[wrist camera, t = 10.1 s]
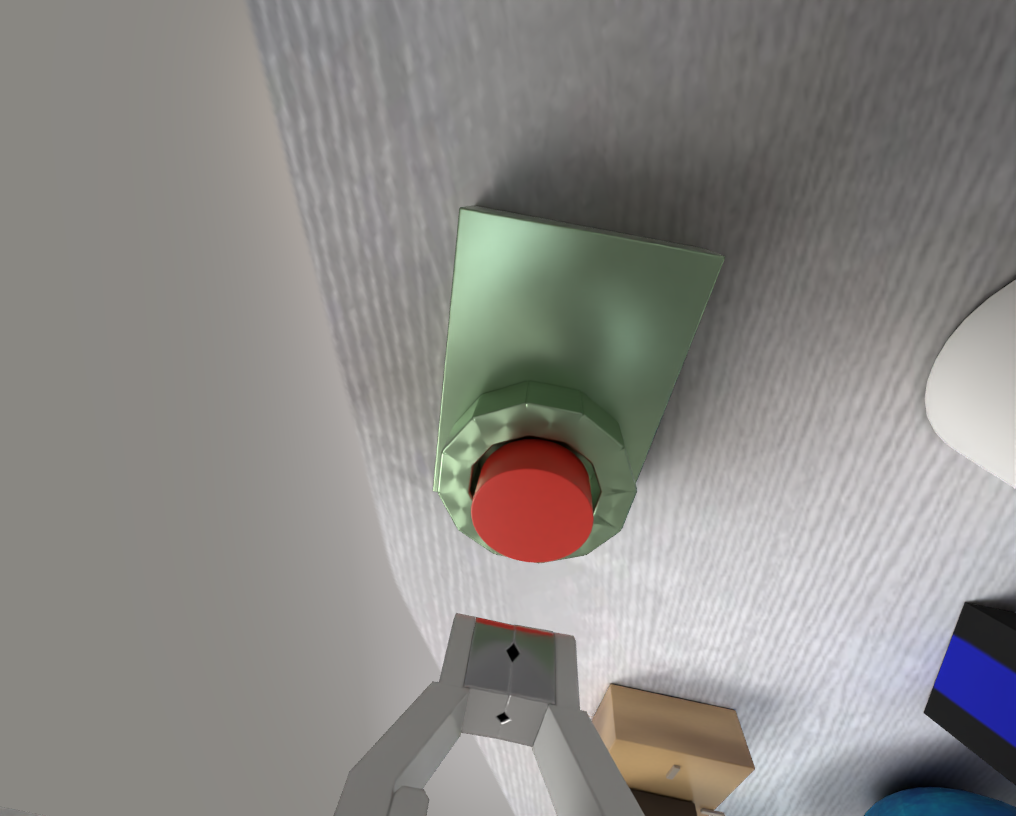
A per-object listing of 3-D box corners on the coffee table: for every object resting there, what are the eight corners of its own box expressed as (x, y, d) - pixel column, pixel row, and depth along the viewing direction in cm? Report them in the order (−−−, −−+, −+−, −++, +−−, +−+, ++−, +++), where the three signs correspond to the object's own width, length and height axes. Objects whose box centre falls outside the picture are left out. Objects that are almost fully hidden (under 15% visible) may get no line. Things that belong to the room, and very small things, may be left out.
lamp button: (487, 427, 14) (478, 457, 12) (603, 451, 14) (609, 483, 12) (473, 515, 16) (464, 549, 14) (575, 536, 16) (576, 573, 14)
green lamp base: (473, 205, 14) (443, 208, 11) (703, 248, 14) (751, 266, 10) (443, 477, 20) (418, 539, 16) (606, 510, 20) (616, 580, 16)
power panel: (600, 681, 26) (605, 740, 23) (745, 712, 26) (767, 775, 23) (559, 766, 32) (559, 821, 29) (677, 792, 31) (688, 850, 28)
